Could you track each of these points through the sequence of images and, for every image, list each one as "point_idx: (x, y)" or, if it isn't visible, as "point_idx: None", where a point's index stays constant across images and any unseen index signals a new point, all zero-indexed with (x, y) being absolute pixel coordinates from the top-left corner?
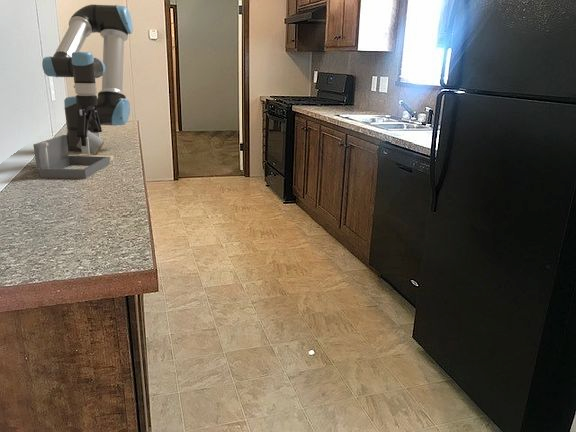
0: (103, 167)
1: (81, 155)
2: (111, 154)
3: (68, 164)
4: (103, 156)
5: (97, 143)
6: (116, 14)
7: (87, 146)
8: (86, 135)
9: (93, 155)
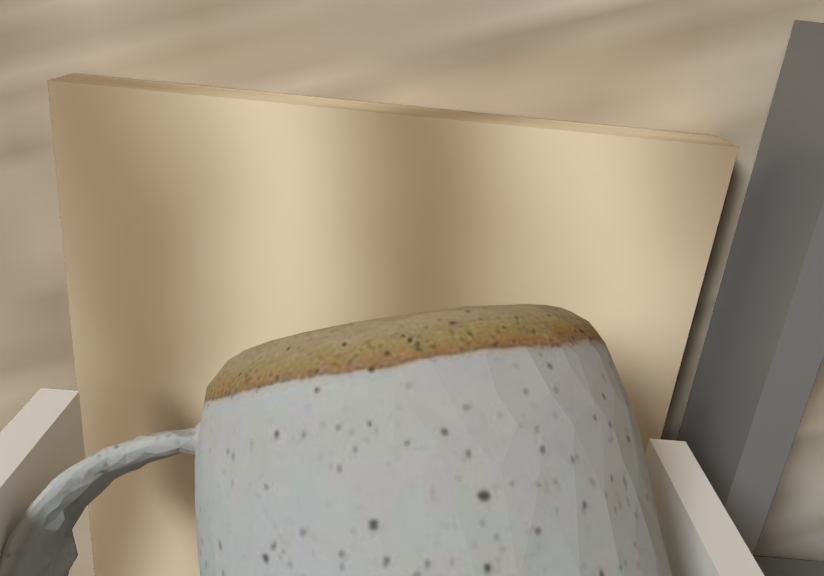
0: None
1: None
2: (80, 163)
3: (794, 571)
4: (307, 256)
5: (621, 429)
6: None
7: (743, 558)
8: None
9: None
